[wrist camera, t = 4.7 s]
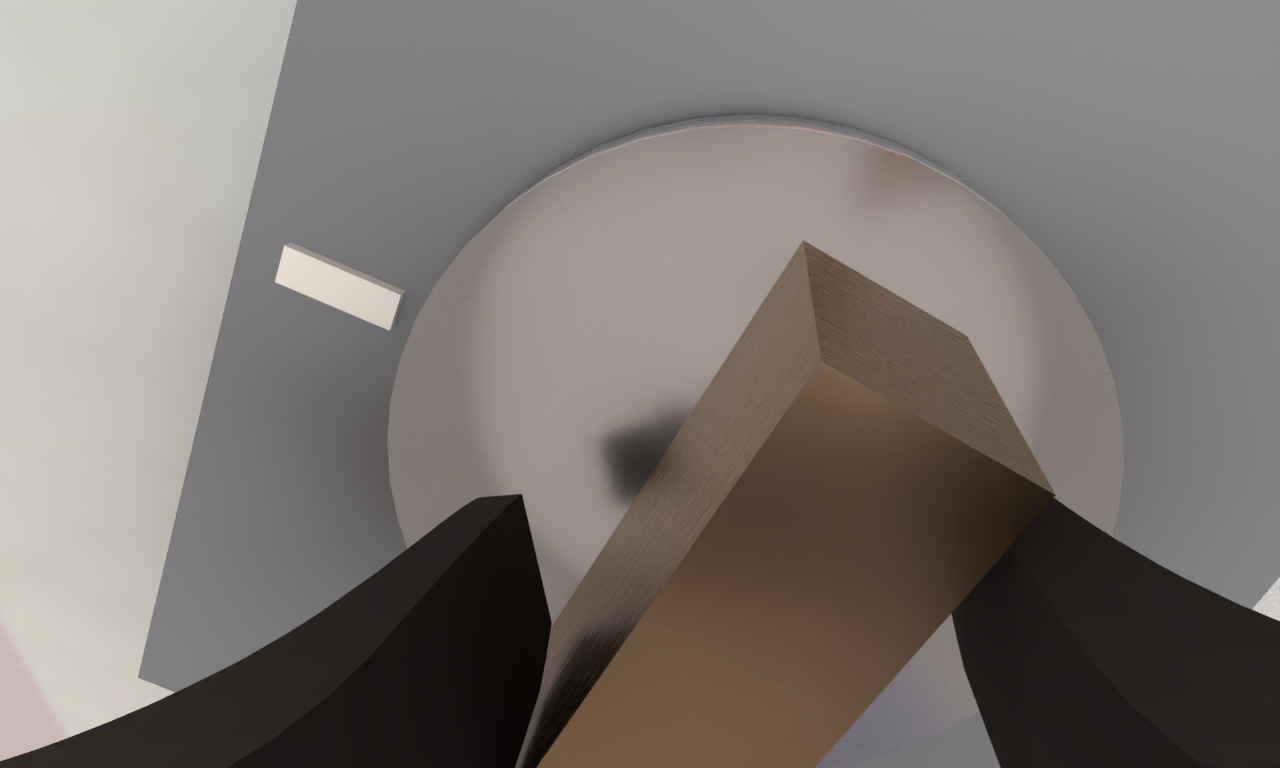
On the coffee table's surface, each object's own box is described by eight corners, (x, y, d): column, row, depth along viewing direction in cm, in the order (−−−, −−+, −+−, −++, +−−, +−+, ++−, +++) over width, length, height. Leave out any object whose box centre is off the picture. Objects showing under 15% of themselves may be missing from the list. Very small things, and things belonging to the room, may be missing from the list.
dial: (1263, 359, 13) (1542, 576, 8) (837, 816, 17) (866, 1135, 12) (601, -41, 12) (499, -45, 7) (317, 546, 16) (134, 782, 11)
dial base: (912, 919, 20) (925, 1000, 18) (182, 627, 19) (131, 684, 18) (1589, 86, 13) (1704, 103, 11) (455, -447, 12) (408, -509, 10)
